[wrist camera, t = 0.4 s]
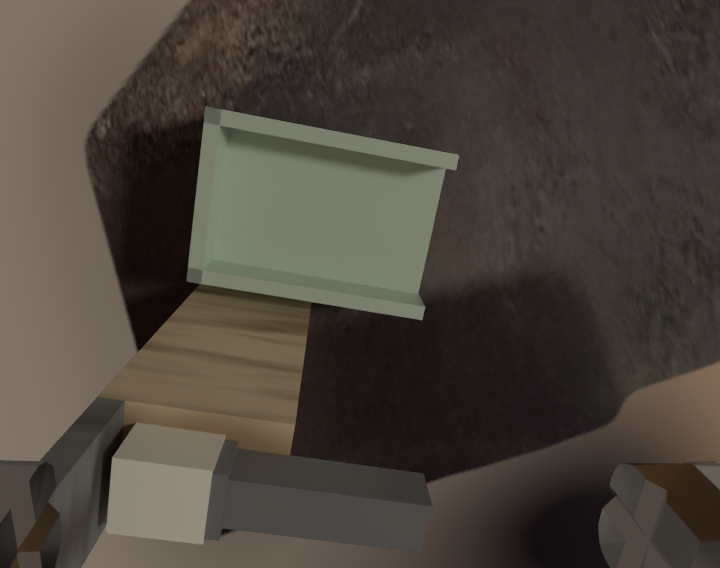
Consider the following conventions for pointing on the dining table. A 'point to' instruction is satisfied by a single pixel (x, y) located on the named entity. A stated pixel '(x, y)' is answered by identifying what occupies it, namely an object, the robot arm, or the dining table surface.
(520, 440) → the dining table surface
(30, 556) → the robot arm
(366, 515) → the grey square bar
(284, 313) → the stand
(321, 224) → the bin
